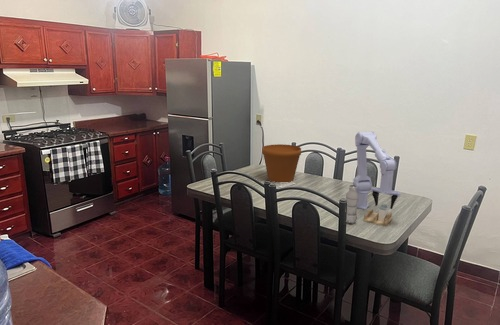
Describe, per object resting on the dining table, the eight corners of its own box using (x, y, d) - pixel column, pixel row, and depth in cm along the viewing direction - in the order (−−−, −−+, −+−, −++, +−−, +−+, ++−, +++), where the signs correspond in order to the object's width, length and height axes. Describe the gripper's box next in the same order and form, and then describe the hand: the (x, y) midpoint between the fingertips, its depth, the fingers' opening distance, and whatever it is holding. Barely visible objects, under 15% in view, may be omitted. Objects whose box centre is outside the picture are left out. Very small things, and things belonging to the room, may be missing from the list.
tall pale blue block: (378, 220, 190) (379, 207, 188) (381, 216, 196) (382, 203, 194) (384, 221, 188) (385, 208, 187) (387, 217, 194) (388, 205, 192)
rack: (362, 221, 192) (363, 215, 191) (370, 213, 202) (370, 208, 201) (386, 226, 185) (386, 220, 184) (392, 218, 196) (392, 213, 195)
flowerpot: (292, 187, 249) (293, 153, 243) (255, 181, 260) (256, 149, 255) (304, 177, 273) (306, 146, 267) (270, 172, 285) (271, 143, 279)
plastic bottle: (354, 219, 193) (357, 184, 188) (358, 224, 187) (361, 188, 182) (342, 219, 193) (344, 184, 188) (346, 225, 186) (348, 188, 182)
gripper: (370, 181, 188) (367, 206, 191) (399, 186, 180) (396, 212, 183) (373, 178, 194) (371, 202, 197) (402, 183, 186) (399, 208, 189)
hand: (383, 206), depth 190 cm, fingers open, 7 cm apart
